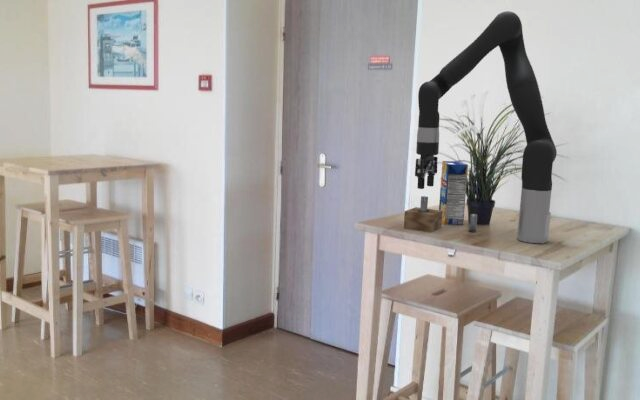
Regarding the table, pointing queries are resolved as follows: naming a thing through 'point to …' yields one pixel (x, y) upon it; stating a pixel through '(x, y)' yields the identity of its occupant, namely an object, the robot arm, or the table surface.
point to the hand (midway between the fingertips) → (425, 187)
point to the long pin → (424, 204)
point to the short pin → (473, 223)
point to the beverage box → (453, 192)
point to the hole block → (423, 219)
